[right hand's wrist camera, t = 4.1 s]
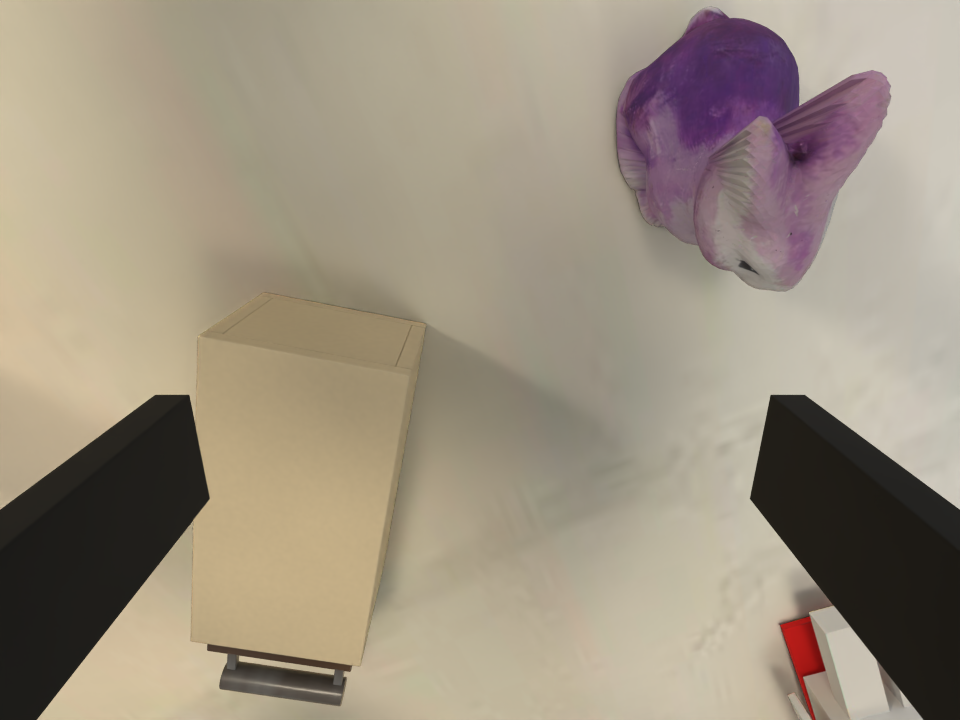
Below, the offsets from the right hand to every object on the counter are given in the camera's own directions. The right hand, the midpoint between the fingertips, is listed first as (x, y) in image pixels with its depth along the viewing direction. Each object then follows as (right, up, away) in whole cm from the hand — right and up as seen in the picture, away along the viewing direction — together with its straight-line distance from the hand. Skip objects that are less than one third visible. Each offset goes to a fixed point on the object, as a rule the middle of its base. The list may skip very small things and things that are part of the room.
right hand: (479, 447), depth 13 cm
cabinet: (-10, -4, +25) cm, 27 cm away
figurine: (+12, +14, +18) cm, 26 cm away
